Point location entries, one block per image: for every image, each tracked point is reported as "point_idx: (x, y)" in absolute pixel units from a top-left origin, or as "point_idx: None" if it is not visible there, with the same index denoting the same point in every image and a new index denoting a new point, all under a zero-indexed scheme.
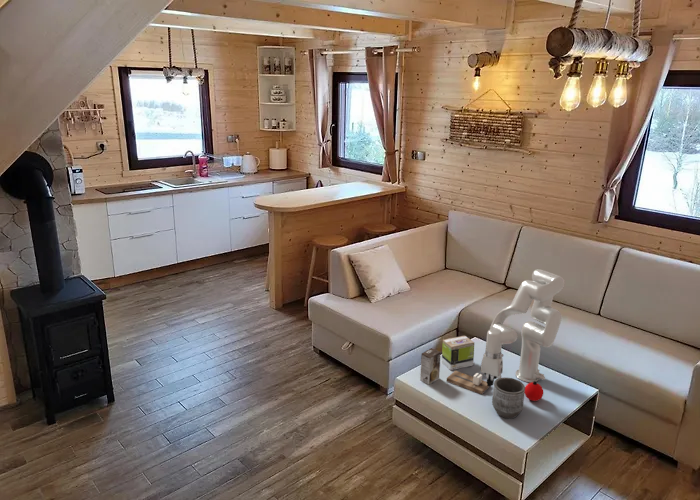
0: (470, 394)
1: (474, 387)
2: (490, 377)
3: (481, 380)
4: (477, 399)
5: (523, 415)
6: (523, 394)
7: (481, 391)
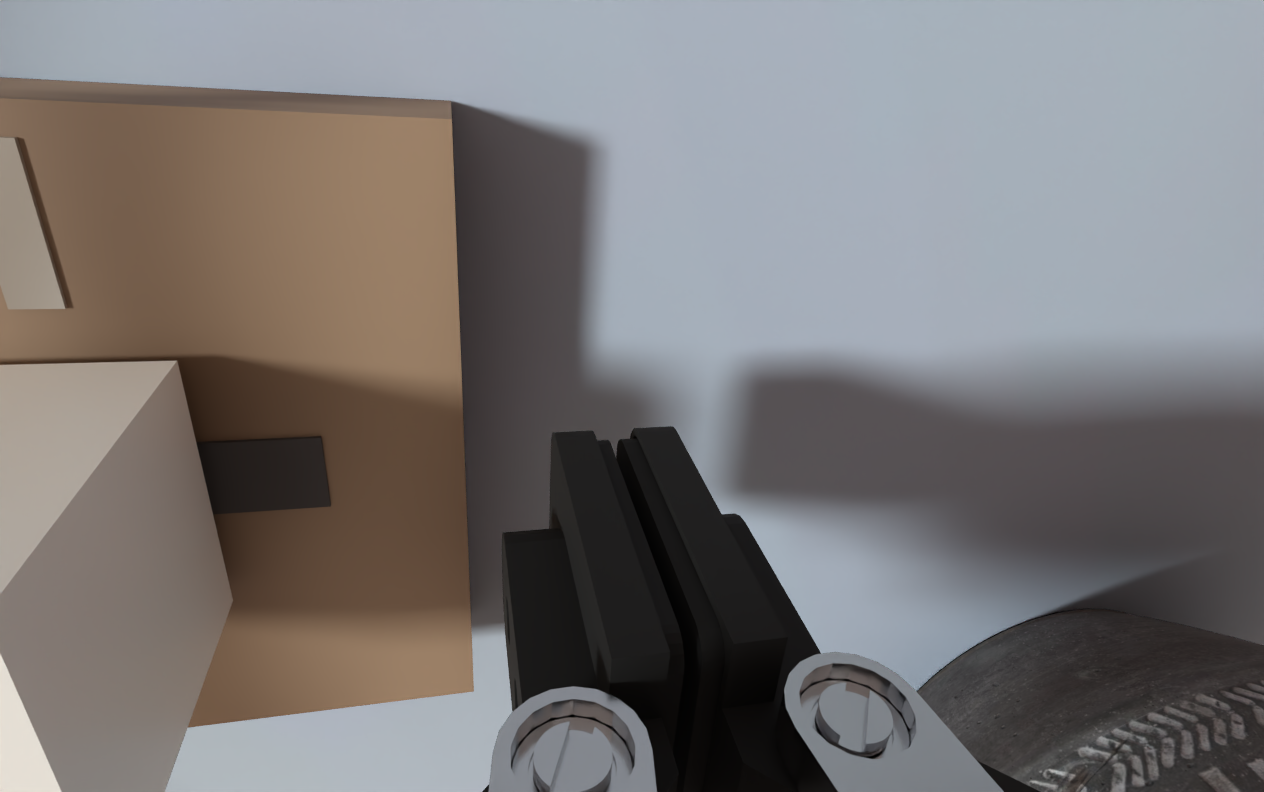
0: (263, 755)
1: (201, 696)
2: (666, 757)
3: (146, 420)
4: (487, 779)
5: (1248, 635)
6: None
7: (460, 678)
